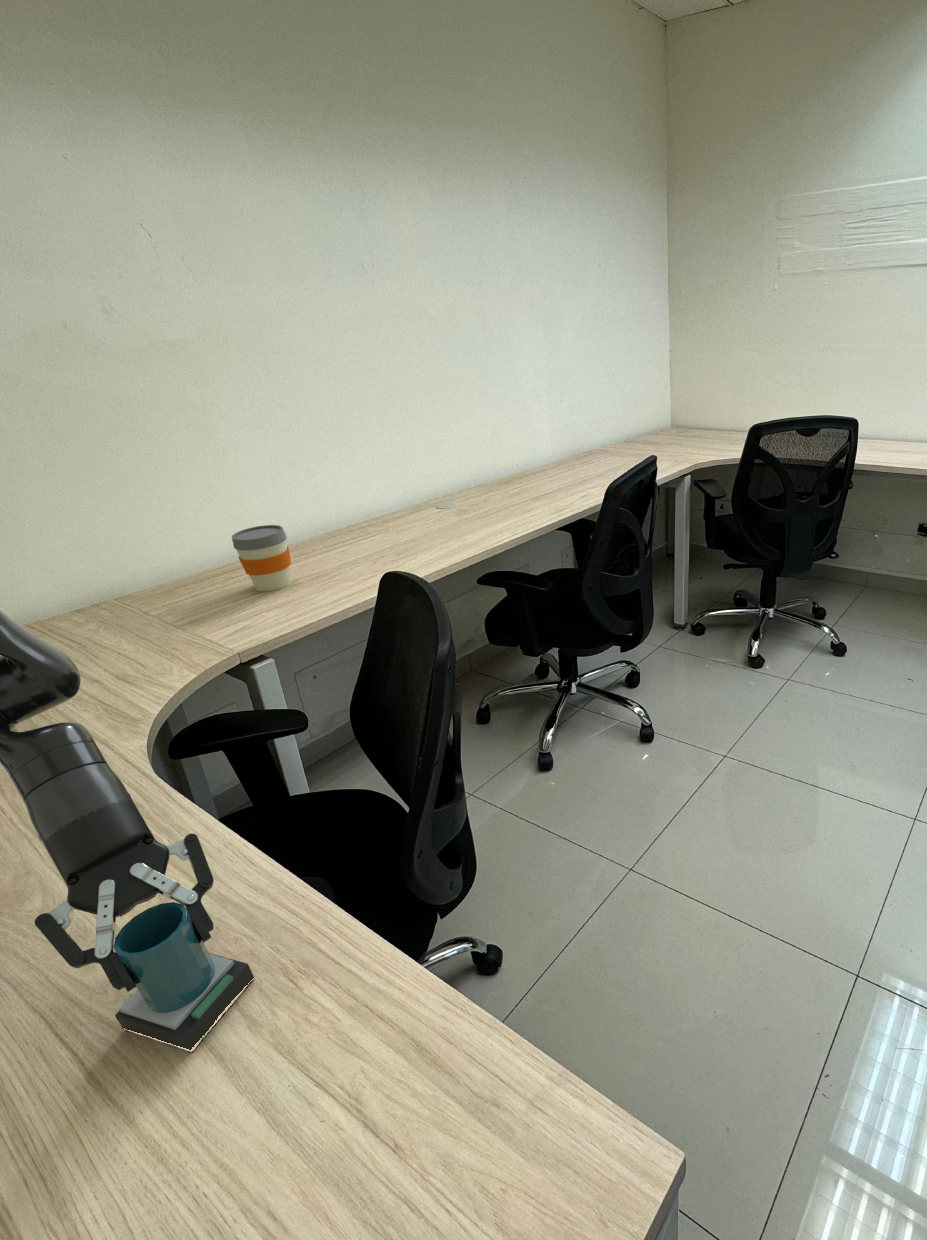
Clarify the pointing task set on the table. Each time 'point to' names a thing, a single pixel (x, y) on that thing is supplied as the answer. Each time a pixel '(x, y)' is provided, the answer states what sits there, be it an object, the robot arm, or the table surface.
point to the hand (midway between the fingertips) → (171, 962)
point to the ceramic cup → (165, 957)
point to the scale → (188, 1007)
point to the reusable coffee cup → (264, 556)
